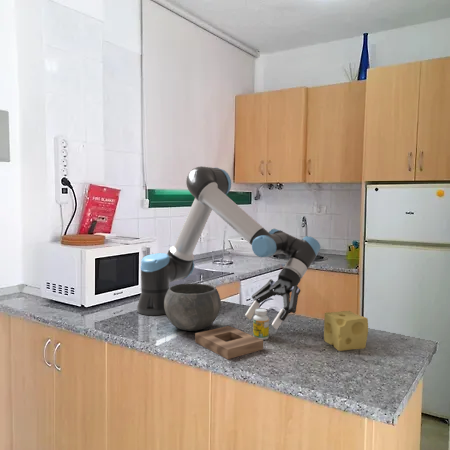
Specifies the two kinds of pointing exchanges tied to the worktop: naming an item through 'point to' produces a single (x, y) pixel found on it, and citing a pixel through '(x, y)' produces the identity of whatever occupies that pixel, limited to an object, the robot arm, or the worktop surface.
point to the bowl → (192, 306)
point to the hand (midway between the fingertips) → (260, 322)
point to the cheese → (345, 330)
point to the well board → (229, 342)
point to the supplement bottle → (261, 324)
